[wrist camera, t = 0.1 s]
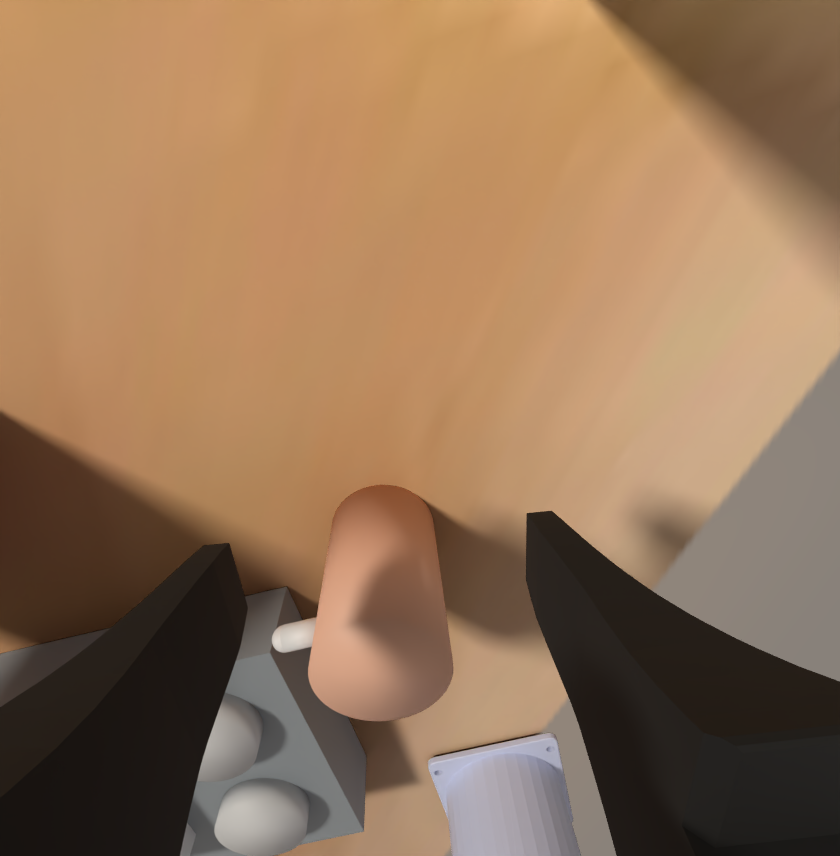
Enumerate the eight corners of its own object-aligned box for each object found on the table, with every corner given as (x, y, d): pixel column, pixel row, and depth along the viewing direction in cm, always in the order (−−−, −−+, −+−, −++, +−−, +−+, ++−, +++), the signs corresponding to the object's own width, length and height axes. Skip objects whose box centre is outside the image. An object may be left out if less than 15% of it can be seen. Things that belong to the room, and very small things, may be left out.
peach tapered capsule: (443, 556, 25) (466, 704, 18) (312, 586, 25) (282, 744, 18) (420, 474, 23) (435, 604, 16) (278, 508, 23) (229, 650, 16)
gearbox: (366, 757, 31) (362, 876, 26) (60, 822, 32) (-6, 951, 27) (286, 586, 25) (259, 695, 20) (-85, 673, 26) (-209, 799, 21)
